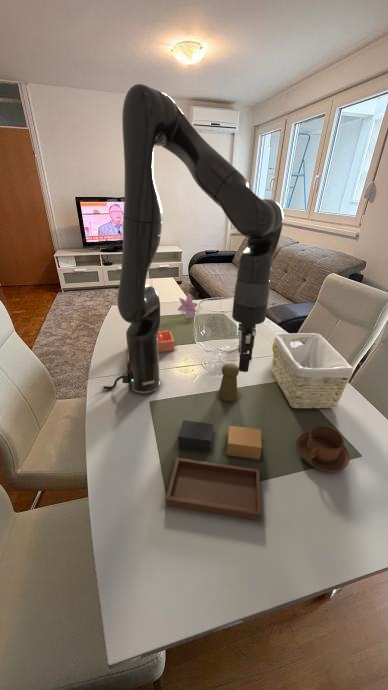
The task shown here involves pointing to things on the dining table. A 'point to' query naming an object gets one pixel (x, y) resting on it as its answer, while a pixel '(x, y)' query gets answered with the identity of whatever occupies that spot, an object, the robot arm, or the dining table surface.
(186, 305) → the lily
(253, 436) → the orange tan block
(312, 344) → the basket
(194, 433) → the black rectangular block
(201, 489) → the brown wooden tray
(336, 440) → the cup and saucer
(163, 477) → the dining table surface
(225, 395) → the pawn chess piece
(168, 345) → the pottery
